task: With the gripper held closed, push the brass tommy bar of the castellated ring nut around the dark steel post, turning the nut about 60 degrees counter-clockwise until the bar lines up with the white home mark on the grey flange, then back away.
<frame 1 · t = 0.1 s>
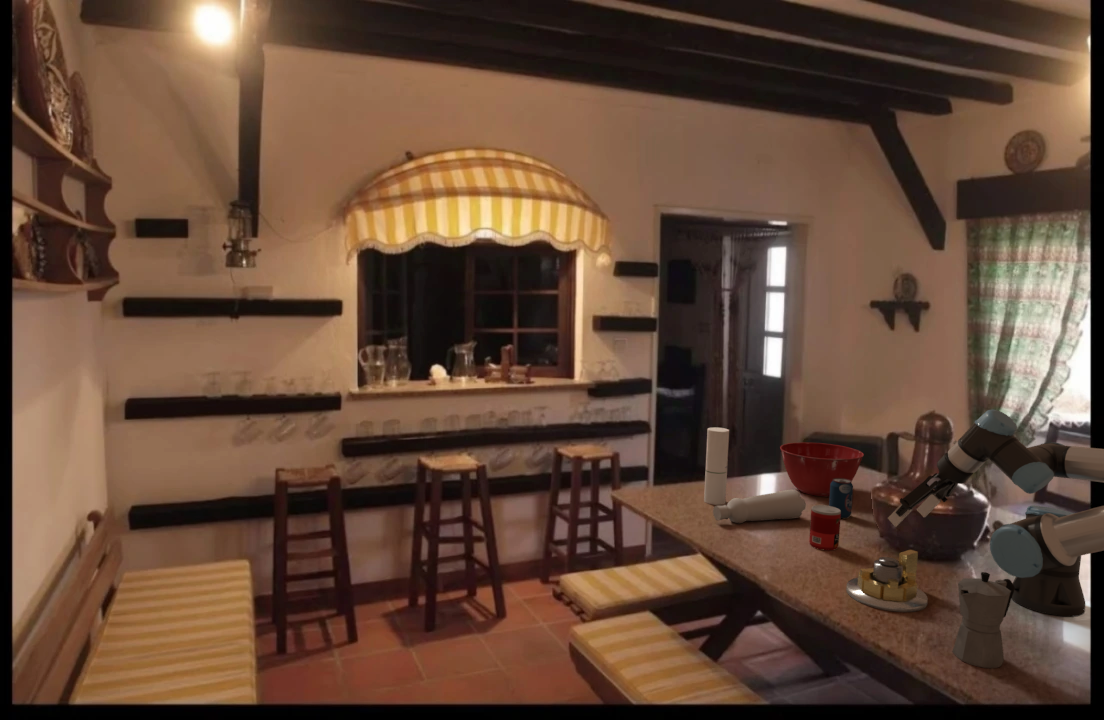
hand: (906, 517, 198), 15 cm above the table, tool tilted 35°, fingers open, 13 cm apart
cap: (886, 596, 186), on the table
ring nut: (893, 572, 186), point 5 cm above the table, hinge at 0.0°
cylindrical container: (714, 502, 261), on the table
soda can: (839, 516, 248), on the table
coffeepot: (981, 657, 156), on the table
mixing bowl: (818, 492, 277), on the table
bottle: (757, 521, 242), on the table
canned food: (823, 546, 220), on the table
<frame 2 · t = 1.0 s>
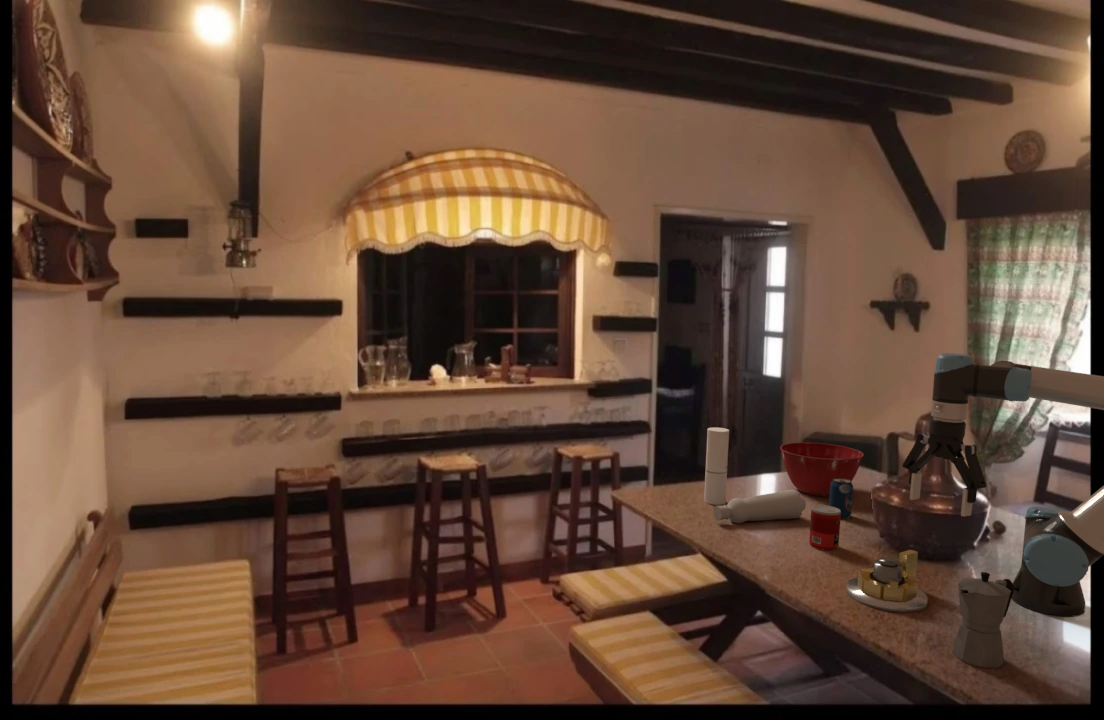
hand: (939, 507, 182), 23 cm above the table, tool pointing down, fingers open, 13 cm apart
nothing on the table moved.
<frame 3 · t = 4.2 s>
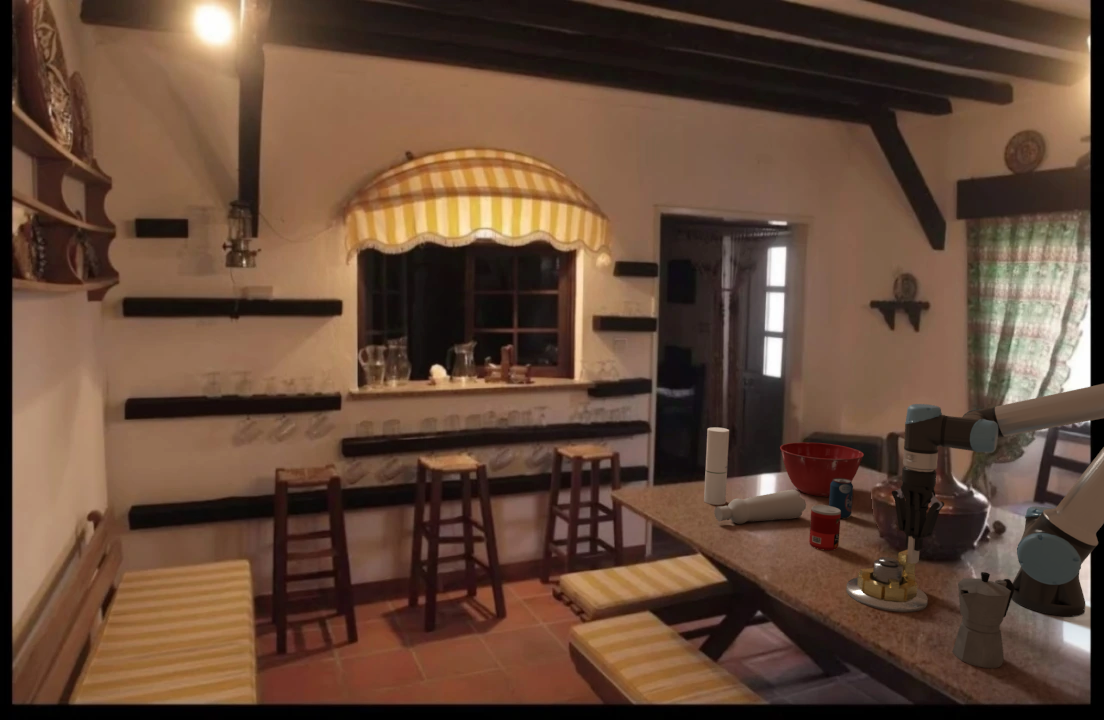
hand: (912, 562, 188), 7 cm above the table, tool pointing down, fingers closed
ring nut: (892, 572, 186), point 5 cm above the table, hinge at 2.1°, touching gripper
everything else where it was.
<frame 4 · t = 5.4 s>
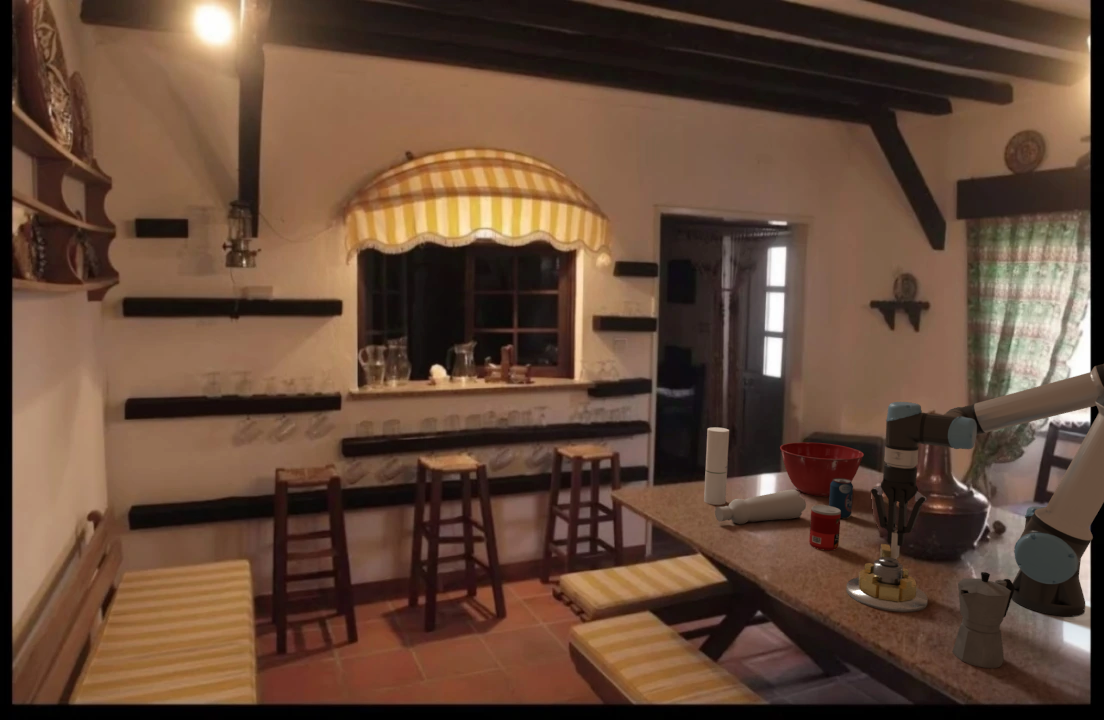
hand: (894, 557, 191), 7 cm above the table, tool pointing down, fingers closed
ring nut: (886, 571, 187), point 5 cm above the table, hinge at 36.2°, touching gripper
everything else where it was.
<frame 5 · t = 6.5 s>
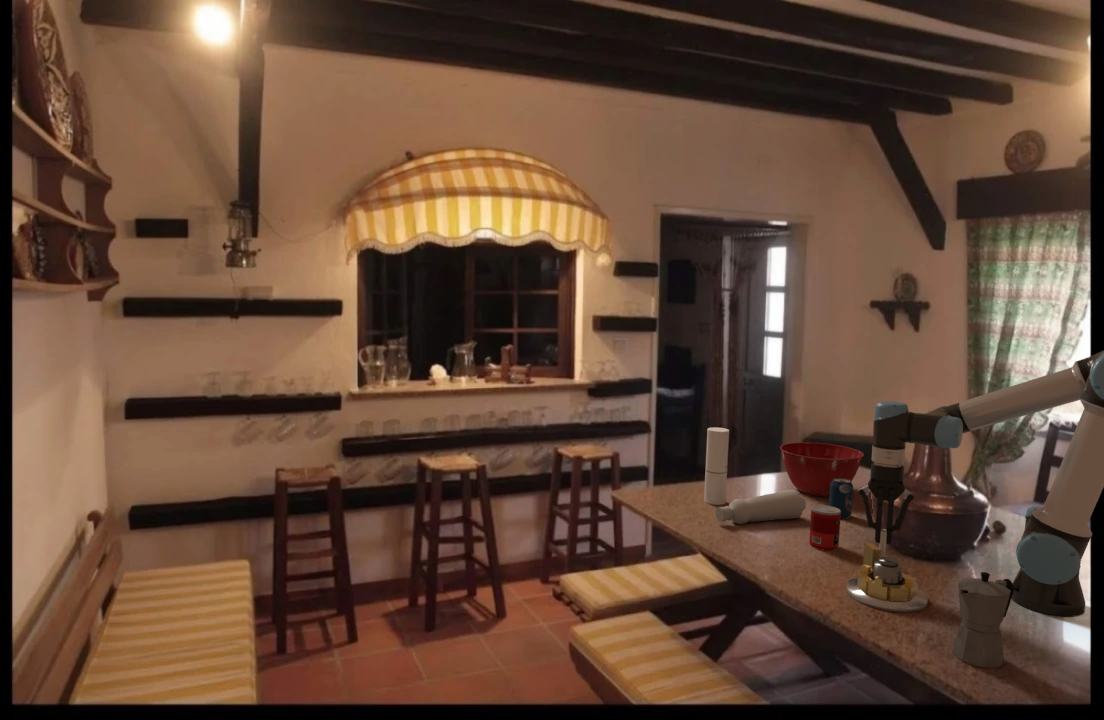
hand: (881, 555, 193), 7 cm above the table, tool pointing down, fingers closed
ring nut: (883, 570, 187), point 5 cm above the table, hinge at 57.4°, touching gripper
everything else where it was.
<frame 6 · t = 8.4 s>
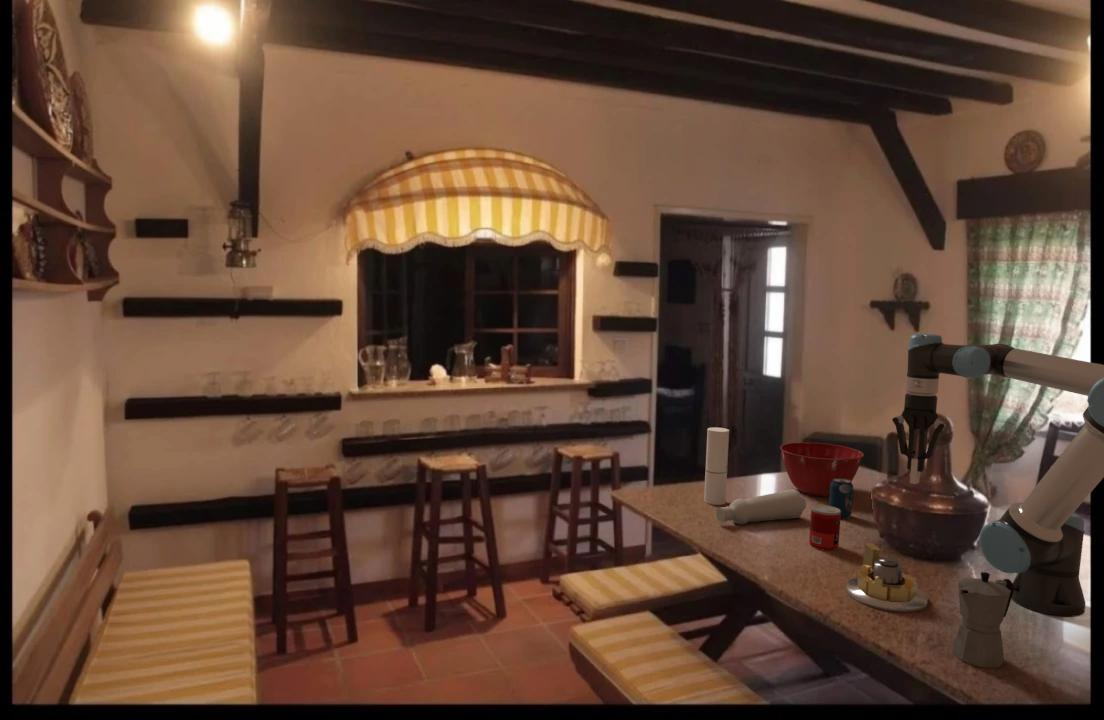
hand: (914, 482, 200), 24 cm above the table, tool pointing down, fingers closed
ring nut: (883, 570, 187), point 5 cm above the table, hinge at 57.4°
everything else where it was.
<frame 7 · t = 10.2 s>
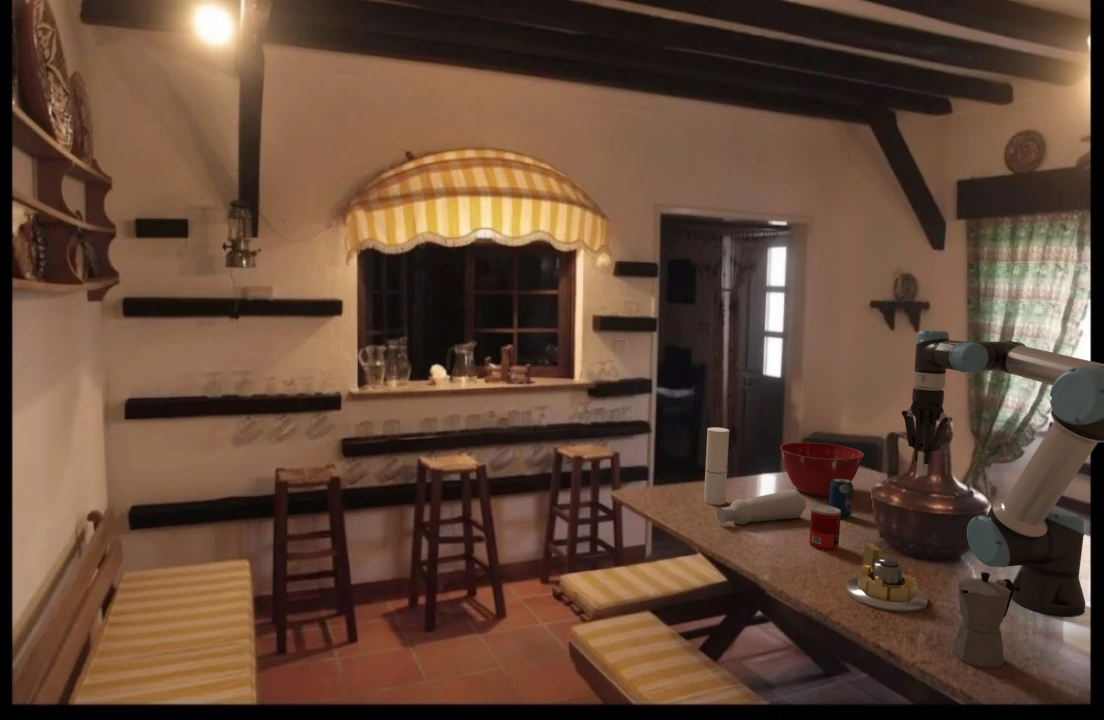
hand: (921, 474, 206), 24 cm above the table, tool pointing down, fingers closed
at the end: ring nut at +57° (first picture: +0°); the gripper is holding nothing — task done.
